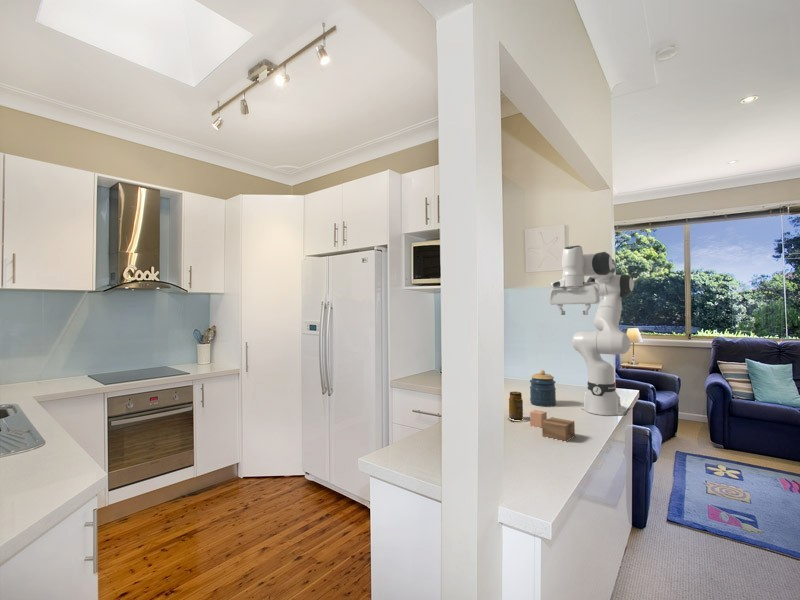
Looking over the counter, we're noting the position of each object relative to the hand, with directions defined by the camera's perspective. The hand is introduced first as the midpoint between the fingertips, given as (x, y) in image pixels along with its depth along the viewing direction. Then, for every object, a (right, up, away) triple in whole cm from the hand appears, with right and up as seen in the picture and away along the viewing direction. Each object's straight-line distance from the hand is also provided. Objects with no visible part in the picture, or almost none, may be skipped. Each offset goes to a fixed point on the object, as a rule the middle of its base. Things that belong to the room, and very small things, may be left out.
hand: (574, 314), depth 168 cm
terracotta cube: (-16, -48, -1) cm, 50 cm away
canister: (+1, -49, +38) cm, 62 cm away
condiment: (-22, -48, +10) cm, 54 cm away
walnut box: (-13, -47, -15) cm, 51 cm away
